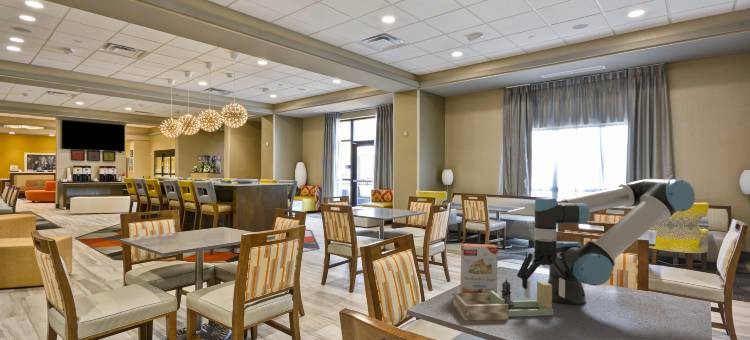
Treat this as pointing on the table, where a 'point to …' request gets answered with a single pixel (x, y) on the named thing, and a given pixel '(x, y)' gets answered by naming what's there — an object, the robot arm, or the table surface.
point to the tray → (530, 302)
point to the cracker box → (478, 268)
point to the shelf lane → (479, 307)
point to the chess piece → (507, 294)
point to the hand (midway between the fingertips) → (544, 296)
